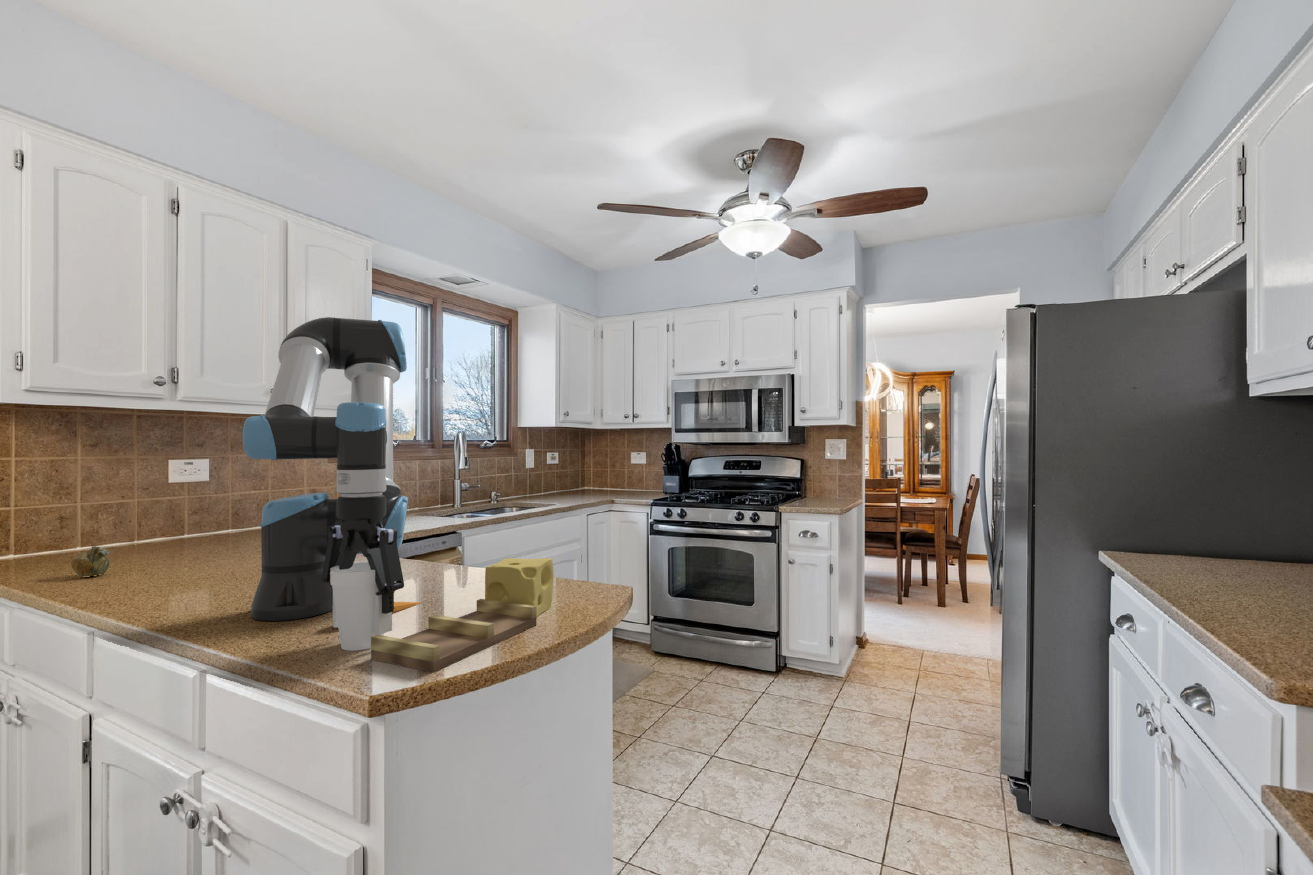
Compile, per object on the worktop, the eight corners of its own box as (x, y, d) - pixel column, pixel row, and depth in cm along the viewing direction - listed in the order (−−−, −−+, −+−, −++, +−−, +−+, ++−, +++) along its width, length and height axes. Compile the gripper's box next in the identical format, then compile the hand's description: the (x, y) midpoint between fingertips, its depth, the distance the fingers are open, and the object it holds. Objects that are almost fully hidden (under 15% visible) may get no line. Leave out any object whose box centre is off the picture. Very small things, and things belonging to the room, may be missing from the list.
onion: (112, 572, 162) (112, 542, 162) (110, 577, 155) (110, 545, 155) (73, 576, 157) (73, 545, 157) (68, 581, 151) (69, 549, 151)
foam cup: (346, 635, 106) (345, 561, 106) (400, 634, 107) (400, 560, 107) (319, 654, 97) (319, 573, 97) (379, 653, 97) (379, 571, 97)
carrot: (340, 635, 109) (349, 612, 109) (326, 622, 111) (334, 600, 111) (425, 617, 127) (433, 598, 127) (411, 606, 129) (419, 587, 129)
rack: (370, 659, 94) (370, 636, 94) (480, 616, 117) (480, 598, 117) (433, 672, 89) (433, 648, 89) (536, 625, 112) (536, 606, 112)
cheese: (534, 621, 114) (534, 568, 115) (481, 618, 117) (481, 566, 117) (554, 606, 125) (554, 557, 125) (505, 604, 127) (505, 556, 127)
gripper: (297, 494, 103) (297, 626, 103) (390, 498, 94) (391, 644, 94) (336, 491, 110) (337, 615, 110) (427, 494, 101) (428, 630, 100)
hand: (362, 628), depth 102 cm, fingers closed on foam cup, 9 cm apart
